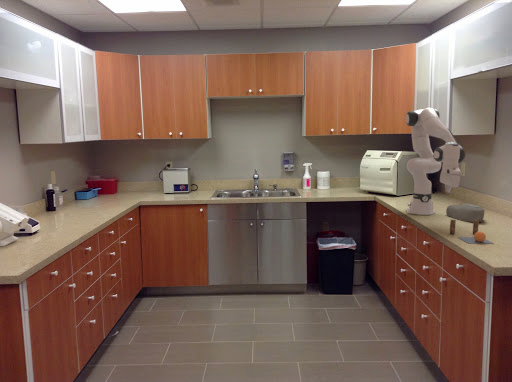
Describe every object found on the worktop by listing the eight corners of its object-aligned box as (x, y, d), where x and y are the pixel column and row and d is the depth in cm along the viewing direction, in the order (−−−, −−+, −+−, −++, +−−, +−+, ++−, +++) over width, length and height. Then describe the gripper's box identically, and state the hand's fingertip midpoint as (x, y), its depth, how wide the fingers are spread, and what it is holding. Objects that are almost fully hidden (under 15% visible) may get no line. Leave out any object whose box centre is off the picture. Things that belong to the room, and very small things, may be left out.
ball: (471, 234, 232) (475, 229, 228) (481, 235, 232) (485, 229, 228) (473, 243, 229) (477, 238, 225) (484, 244, 229) (488, 238, 224)
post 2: (471, 233, 247) (472, 219, 246) (476, 233, 247) (477, 219, 246) (473, 234, 244) (474, 220, 243) (478, 234, 244) (479, 220, 243)
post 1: (448, 233, 247) (449, 219, 246) (453, 233, 247) (454, 219, 246) (450, 234, 245) (451, 220, 244) (455, 234, 245) (456, 220, 244)
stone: (495, 210, 271) (462, 209, 273) (493, 226, 273) (460, 225, 275) (476, 201, 299) (446, 199, 300) (474, 215, 301) (444, 214, 302)
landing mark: (457, 237, 239) (457, 236, 239) (481, 237, 238) (481, 237, 238) (467, 243, 226) (467, 243, 226) (493, 243, 225) (493, 243, 225)
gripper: (438, 167, 273) (436, 189, 275) (451, 171, 253) (449, 195, 255) (448, 167, 273) (446, 189, 275) (462, 172, 253) (460, 195, 255)
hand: (447, 192), depth 265 cm, fingers closed
